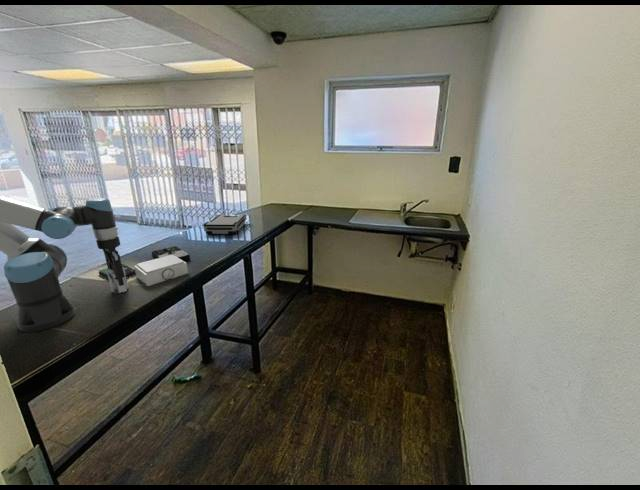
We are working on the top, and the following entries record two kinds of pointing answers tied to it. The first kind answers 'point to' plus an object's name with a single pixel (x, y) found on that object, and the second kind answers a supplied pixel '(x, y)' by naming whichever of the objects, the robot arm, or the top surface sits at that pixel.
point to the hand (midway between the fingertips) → (120, 288)
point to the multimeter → (171, 253)
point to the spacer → (113, 282)
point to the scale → (160, 269)
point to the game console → (225, 225)
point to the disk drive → (127, 269)
